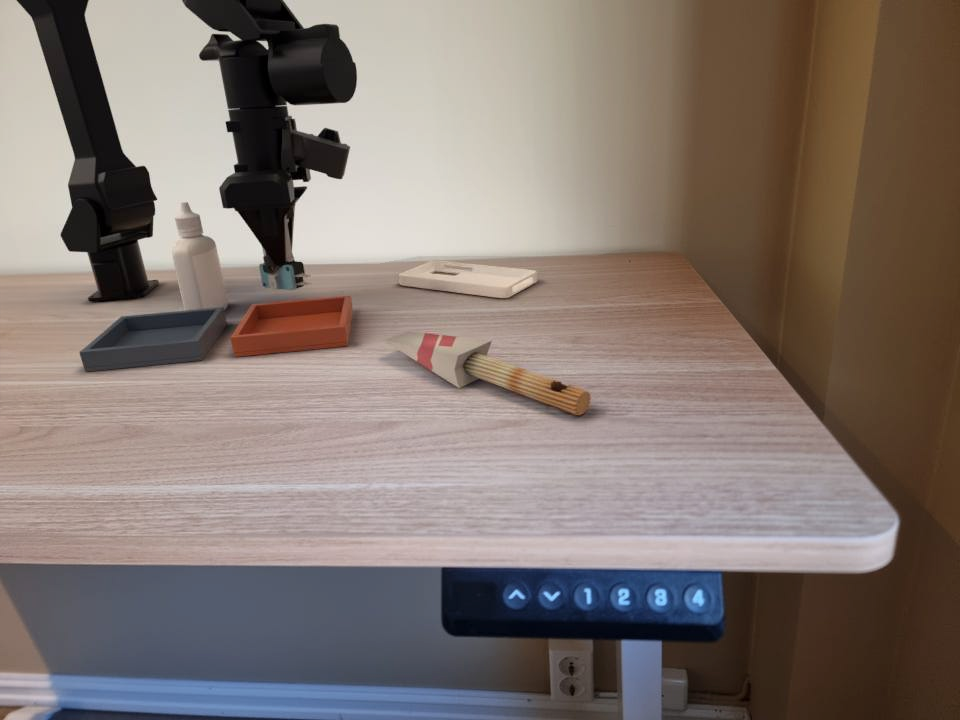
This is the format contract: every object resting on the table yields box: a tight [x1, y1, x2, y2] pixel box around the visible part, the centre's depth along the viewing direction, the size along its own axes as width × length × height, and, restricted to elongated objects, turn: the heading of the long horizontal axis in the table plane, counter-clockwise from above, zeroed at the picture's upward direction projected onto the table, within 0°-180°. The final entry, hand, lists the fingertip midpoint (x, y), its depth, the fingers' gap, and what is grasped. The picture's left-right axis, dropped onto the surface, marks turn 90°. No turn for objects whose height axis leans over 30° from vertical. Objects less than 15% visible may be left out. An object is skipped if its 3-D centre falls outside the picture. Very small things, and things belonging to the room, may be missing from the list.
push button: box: [258, 204, 313, 291], centre depth 73 cm, size 7×5×10 cm
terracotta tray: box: [230, 294, 354, 358], centre depth 67 cm, size 10×10×2 cm
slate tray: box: [78, 307, 228, 373], centre depth 65 cm, size 10×10×2 cm
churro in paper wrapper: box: [383, 330, 592, 416], centre depth 53 cm, size 4×3×20 cm
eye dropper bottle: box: [171, 201, 229, 311], centre depth 73 cm, size 4×6×12 cm
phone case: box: [398, 260, 538, 299], centre depth 79 cm, size 7×1×15 cm
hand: (283, 260), depth 74 cm, fingers closed on push button, 4 cm apart
